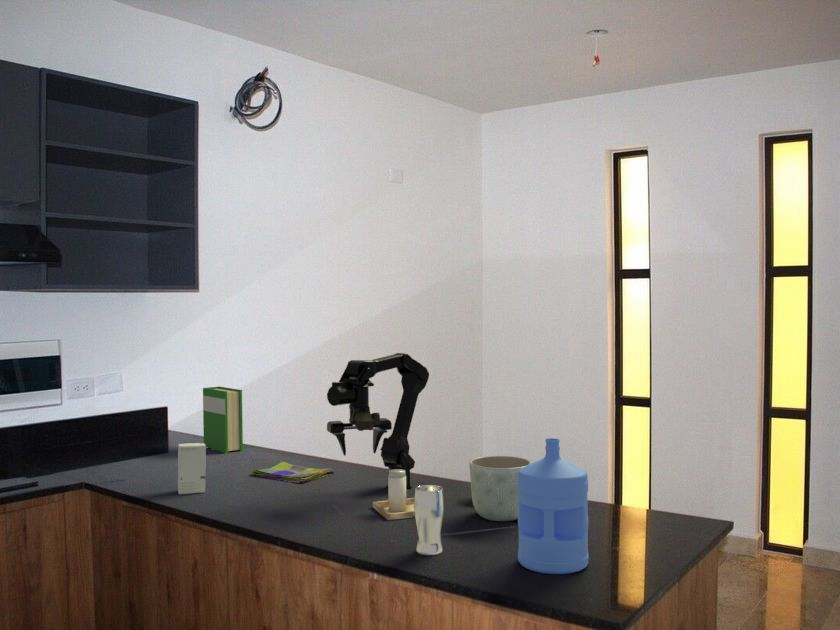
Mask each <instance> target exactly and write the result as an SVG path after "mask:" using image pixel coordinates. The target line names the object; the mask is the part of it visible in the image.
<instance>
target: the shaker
mask: <svg viewBox="0 0 840 630" xmlns="http://www.w3.org/2000/svg"><path fill="white" fill-rule="evenodd" d="M387 487H388V488H387V489H388V492H387V493H388V494H387V495H388V499H387V500H388V506H389V511H390V512H396V513H397V512H404V511H406V499H407V488H406V475H405V470H402V469H393V470H389V476H388V486H387Z"/></svg>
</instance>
